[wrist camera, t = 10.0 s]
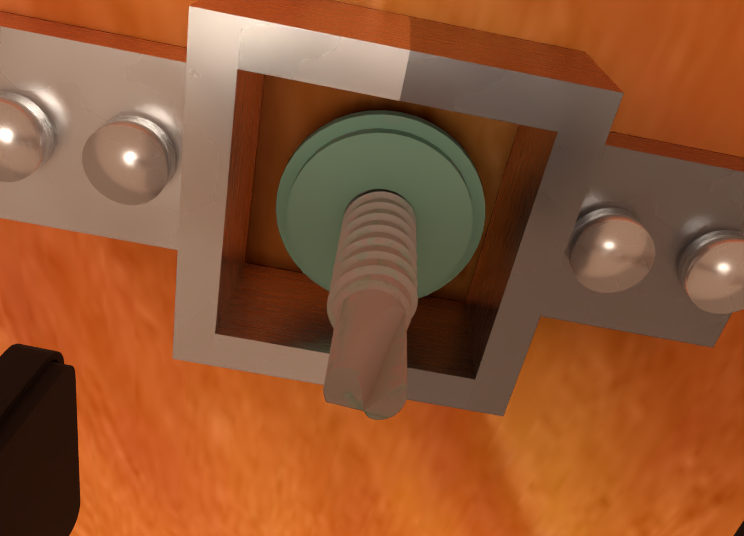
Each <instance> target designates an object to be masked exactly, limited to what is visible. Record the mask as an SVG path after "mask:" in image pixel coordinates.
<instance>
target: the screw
mask: <svg viewBox="0 0 744 536" xmlns="http://www.w3.org/2000/svg"><path fill="white" fill-rule="evenodd" d="M276 217H277V224H278V228H279V232H280V236H281V239H282V241H283V243H284V245H285V248H286V250H287V251H288V253H289V255H290V256H291V258H292V259H293V261H294V262H295V263H296V265H297V266H298V267H299V268H300V269H301V270H302V272H303V273H304V274H306V275H307V276H308V277H309V278H310V279H311V280H313V281H314V282H315V283H316V284H318V285H320V286H321V287H323V288H324V289H326V290H327V291H330V293H329V296H328V300H327V314H328V318H329V320H330V322H331V324H332V327H333V328H334V331H333V337H332V342H331V348H330V354H329V359H328V365H327V371H326V376H325V382H324V388H323V390H324V397H325V399H326V402H328V403H333V404H337V405H341V406H345V407H349V408H353V409H357V410H362V411H364V412H365V414H366V415H367V416H368V417H369V418H371V419H375V420H382V419H387V418H390V417H392V416H394V415H396V414H397V413H398V412H399V411H400V410H401V409H402V407H403V406H404V404H405V402H406V398H407V329H408V326H409V324H410V322H411V318H412V317H413V316H414V314H415V312H416V309H417V305H418V298H421V297H424V296H427V295H429V294H431V293H433V292H434V291H436V290H438V289H440V288H442V287H443V286H444V285H446V284H447V283H449V282H450V281H451V280H453V279H454V278H455V277H456V276H457V275H458V274H459V273H460V272H461V271H462V270H463V269H464V267H465V266H466V265H467V264H468V262H469V261H470V260H471V258H472V256H473V255H474V253H475V251H476V249H477V247H478V245H479V242H480V239H481V236H482V233H483V229H484V222H485V199H484V194H483V188H482V184H481V181H480V178H479V175H478V172H477V170H476V168H475V166H474V164H473V162H472V161H471V159H470V157H469V155H468V154H467V153H466V152H465V150H464V149H463V148H462V147H461V145H460V144H459V143H458V142H457V141H456V140H455V139H454V138H452V137H451V136H450V135H449V134H448V133H447V132H445V131H444V130H442V129H441V128H439V127H438V126H436V125H435V124H433V123H431V122H429V121H426V120H424V119H422V118H420V117H417V116H414V115H410V114H406V113H403V112H396V111H387V110H373V111H363V112H358V113H352V114H349V115H346V116H343V117H340V118H337V119H335V120H333V121H331V122H329V123H327V124H325V125H323V126H322V127H320V128H319V129H317V130H316V131H315V132H313V133H312V134H311V135H310V136H308V137H307V138H306V139H305V140H304V141H303V142H302V144H301V145H300V146H299V147H298V148H297V149H296V151H295V152H294V154H293V155H292V157H291V158H290V160H289V161H288V164H287V166H286V168H285V170H284V173H283V175H282V177H281V180H280V184H279V188H278V191H277V199H276Z"/></svg>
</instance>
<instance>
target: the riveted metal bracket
mask: <svg viewBox="0 0 744 536" xmlns="http://www.w3.org/2000/svg"><path fill="white" fill-rule="evenodd" d="M264 74H265V75H270V76H275V77H281V78H286V79H291V80H296V81H301V82H306V83H311V84H316V85H321V86H326V87H331V88H337V89H342V90H347V91H352V92H357V93H362V94H367V95H372V96H377V97H382V98H388V99H393V100H398V101H403V102H408V103H413V104H418V105H423V106H428V107H433V108H438V109H444V110H449V111H454V112H459V113H464V114H469V115H474V116H479V117H484V118H489V119H495V120H500V121H505V122H510V123H515V124H519V127H518V131H517V134H516V137H515V141H514V144H513V147H512V150H511V154H510V157H509V160H508V164H507V167H506V170H505V174H504V177H503V180H502V184H501V187H500V190H499V193H498V197H497V200H496V203H495V207H494V210H493V213H492V217H491V220H490V223H489V226H488V230H487V233H486V236H485V240H484V243H483V246H482V250H481V253H480V256H479V260H478V263H477V266H476V269H475V273H474V276H473V279H472V283H471V286H470V289H469V293H468V296H467V299H466V303H463V302H457V301H452V300H446V299H441V298H435V297H430V296H424V297H421V298H418V305H417V309H416V312H415V314H414V316H413V317H412V318H411V322H410V324H409V326H408V329H407V398H406V399H407V400H413V401H419V402H424V403H430V404H436V405H442V406H447V407H453V408H459V409H465V410H470V411H476V412H482V413H488V414H493V415H499V416H504V413H505V410H506V408H507V405H508V402H509V400H510V397H511V394H512V392H513V389H514V386H515V383H516V381H517V378H518V375H519V373H520V370H521V367H522V365H523V362H524V359H525V357H526V354H527V351H528V349H529V346H530V343H531V341H532V338H533V335H534V333H535V330H536V327H537V325H538V322H539V319H540V316H542V317H548V318H553V319H559V320H564V321H570V322H575V323H581V324H586V325H592V326H597V327H603V328H608V329H614V330H619V331H625V332H630V333H636V334H641V335H647V336H652V337H658V338H663V339H669V340H674V341H680V342H685V343H691V344H696V345H702V346H707V347H714V345H715V343H716V341H717V340H718V338H719V336H720V334H721V332H722V330H723V328H724V327H725V325H726V323H727V321H728V319H729V317H730V316H731V314H732V313H733V312H737V311H740V310H742V309H744V158H741V157H736V156H731V155H726V154H721V153H716V152H711V151H706V150H701V149H696V148H691V147H686V146H680V145H675V144H670V143H665V142H660V141H655V140H650V139H645V138H640V137H635V136H630V135H625V134H620V133H615V132H610V129H611V126H612V124H613V121H614V118H615V116H616V113H617V110H618V107H619V105H620V102H621V99H622V97H623V94H624V93H623V92H622V91H621V90H620V89H619V88H618V87H617V85H616V84H615V83H614V82H613V81H612V80H611V79H610V78H609V77H608V76H607V75H606V74H605V73H604V72H603V71H602V70H601V69H600V68H599V67H598V66H597V65H596V64H595V63H594V62H593V60H592V59H591V58H590V57H589V56H588V55H587V54H586V53H585V52H582V51H577V50H572V49H567V48H562V47H557V46H552V45H547V44H542V43H537V42H532V41H527V40H522V39H517V38H513V37H508V36H503V35H498V34H493V33H488V32H483V31H478V30H473V29H468V28H463V27H458V26H453V25H448V24H444V23H439V22H434V21H429V20H424V19H419V18H414V17H409V16H404V15H399V14H394V13H389V12H384V11H379V10H374V9H370V8H365V7H360V6H355V5H350V4H345V3H340V2H335V1H330V0H198V1H197V2H195V3H193V4H192V5H190V6H189V20H188V41H187V48H183V47H178V46H173V45H168V44H163V43H158V42H153V41H148V40H143V39H138V38H133V37H127V36H122V35H117V34H112V33H107V32H102V31H97V30H92V29H87V28H82V27H77V26H72V25H67V24H62V23H56V22H51V21H46V20H41V19H36V18H31V17H26V16H21V15H16V14H11V13H6V12H1V11H0V218H4V219H10V220H15V221H21V222H26V223H32V224H37V225H43V226H48V227H54V228H59V229H65V230H70V231H76V232H81V233H87V234H92V235H98V236H103V237H109V238H114V239H120V240H125V241H131V242H136V243H141V244H147V245H152V246H158V247H163V248H169V249H174V250H178V254H177V275H176V297H175V318H174V339H173V359H177V360H183V361H189V362H195V363H200V364H206V365H212V366H218V367H223V368H229V369H235V370H241V371H246V372H252V373H258V374H264V375H269V376H275V377H281V378H287V379H292V380H298V381H304V382H310V383H315V384H321V385H324V382H325V376H326V371H327V365H328V359H329V354H330V348H331V342H332V337H333V331H334V328H333V327H332V324H331V322H330V320H329V318H328V314H327V300H328V296H329V293H330V291H327V290H326V289H324V288H323V287H321V286H320V285H318V284H316V283H315V282H314V281H313V280H311V279H310V278H309V277H308V276H307V275H306V274H303V273H298V272H292V271H287V270H281V269H276V268H270V267H265V266H259V265H254V264H248V263H245V256H246V246H247V237H248V227H249V218H250V208H251V198H252V189H253V179H254V170H255V160H256V151H257V141H258V131H259V122H260V112H261V103H262V93H263V84H264Z"/></svg>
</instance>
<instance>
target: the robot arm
mask: <svg viewBox="0 0 744 536" xmlns="http://www.w3.org/2000/svg"><path fill="white" fill-rule="evenodd" d="M79 508H80V483H79V457H78V430H77V404H76V378H75V369H74V367H73V366H71V365H66V364H64V359H63V356H62V354H61V353H60V352H57V351H53V350H48V349H42V348H37V347H32V346H27V345H22V344H14V345H12V346H10V347H9V348H8V349H7V350H6V351H5V352H4V353H3V354H2V355H1V356H0V536H69V535H70V533H71V531H72V529H73V527H74V525H75V523H76V520H77V517H78V513H79ZM734 536H744V521H743V522H742V524H741V525H740V527H739V528H738V530H737V531H736V533H735V534H734Z"/></svg>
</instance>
